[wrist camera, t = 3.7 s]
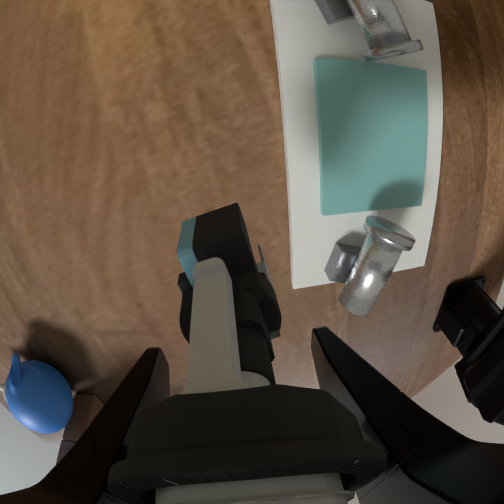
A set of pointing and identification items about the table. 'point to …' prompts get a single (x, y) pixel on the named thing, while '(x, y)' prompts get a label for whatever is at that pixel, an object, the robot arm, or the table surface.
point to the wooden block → (79, 420)
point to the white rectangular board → (356, 133)
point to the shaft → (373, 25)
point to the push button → (239, 397)
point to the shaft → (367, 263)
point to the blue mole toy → (38, 395)
